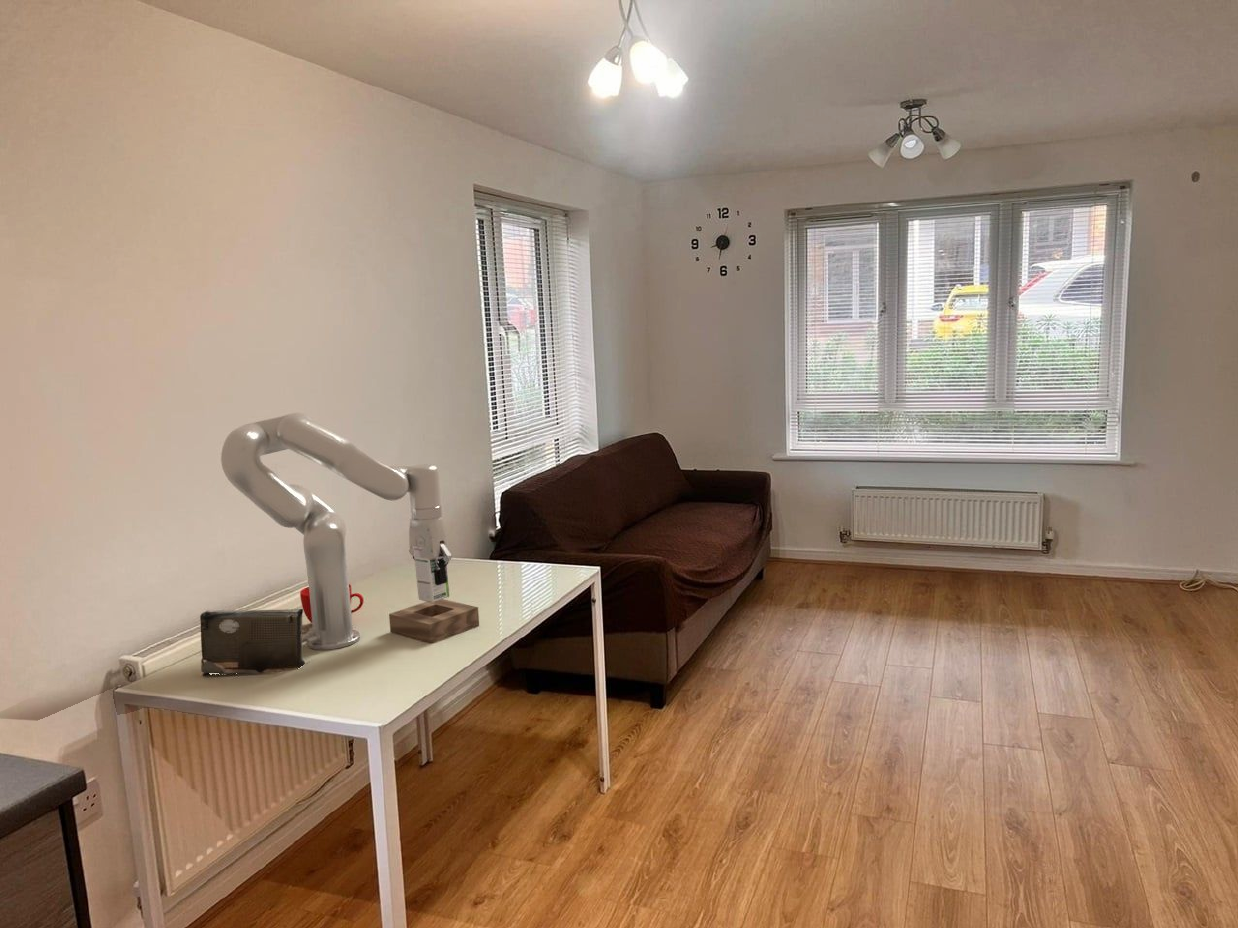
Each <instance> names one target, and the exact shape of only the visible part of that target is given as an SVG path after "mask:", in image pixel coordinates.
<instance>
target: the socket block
mask: <svg viewBox="0 0 1238 928" xmlns="http://www.w3.org/2000/svg"><path fill="white" fill-rule="evenodd" d="M388 619H389V630H390V631H389V632H390V633H391V634H394V635H397V636H401V637H405V638H408V639H412V640H415V641H419V642H421V643H422V642H424V643H426V644H430V645H433V644H435V643H437V642H441V641H443V640H446V639H448V638H452V637H454V636H457V635H458V634H461V633H464V632H466V631H467V632H468V631H469V630H471V629H474V628H477V627H479V626H480V616H479V607H478V606H475V605H470V604H466V603H463V602H462V603H461V602H456V601H453V600H448V599H445V598H444V599H441V600H438V601H435V602H433V603H432V602H427V601H423V602H422V603H421V602H420V603H418V604H415V605H412V606H409V607H406V608H403V609H400V610H397V611H395V612H391V613H389V614H388Z"/></svg>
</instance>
